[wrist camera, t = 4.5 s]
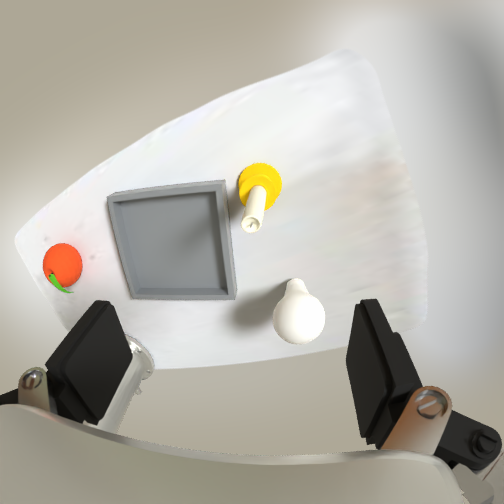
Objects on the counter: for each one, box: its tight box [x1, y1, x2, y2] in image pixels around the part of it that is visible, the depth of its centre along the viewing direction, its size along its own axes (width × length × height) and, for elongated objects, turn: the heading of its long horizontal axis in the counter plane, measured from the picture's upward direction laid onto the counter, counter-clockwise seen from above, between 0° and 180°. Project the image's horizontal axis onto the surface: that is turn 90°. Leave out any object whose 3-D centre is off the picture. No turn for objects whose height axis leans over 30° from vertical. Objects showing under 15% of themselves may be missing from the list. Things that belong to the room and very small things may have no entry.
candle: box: [238, 163, 282, 233], centre depth 27 cm, size 5×5×16 cm
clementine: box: [43, 243, 82, 293], centre depth 38 cm, size 8×7×7 cm
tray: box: [107, 180, 237, 300], centre depth 37 cm, size 16×16×2 cm
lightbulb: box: [273, 278, 325, 344], centre depth 35 cm, size 6×6×11 cm
